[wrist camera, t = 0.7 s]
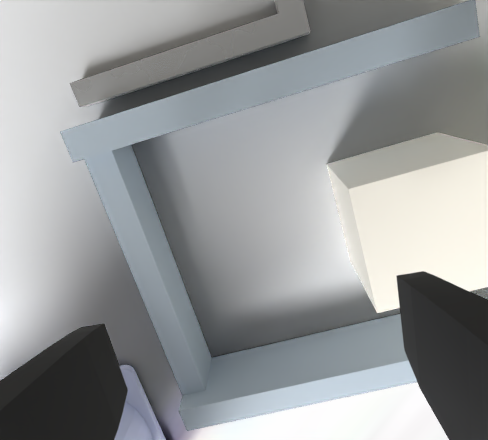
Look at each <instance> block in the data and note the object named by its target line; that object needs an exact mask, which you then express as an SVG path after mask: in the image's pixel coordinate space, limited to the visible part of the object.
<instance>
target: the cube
mask: <svg viewBox="0 0 488 440" xmlns="http://www.w3.org/2000/svg"><path fill="white" fill-rule="evenodd" d="M327 168H328V172H329V177H330V181H331V185H332V189H333V193H334V197H335V201H336V205H337V209H338V214H339V218H340V222H341V226H342V230H343V234H344V238H345V242H346V246H347V251H348V255H349V259H350V262H351V264H352V266H353V268H354V270H355V272H356V273H357V275H358V277H359V279H360V281H361V283H362V285H363V287H364V289H365V291H366V293H367V295H368V297H369V299H370V300H371V302H372V304H373V306H374V308H375V310H376V312H377V313H380V312H385V311H389V310H393V309H397V308H400V305H399V296H398V286H397V277H396V276H397V275H403V274H409V273H415V272H421V271H424V272H427V273H430V274H432V275H434V276H437V277H439V278H441V279H443V280H446V281H448V282H450V283H452V284H454V285H456V286H458V287H461V288H463V289H465V290H467V291H473V290H477V289H481V288H486V287H488V145H487V144H483V143H479V142H475V141H471V140H467V139H463V138H459V137H455V136H451V135H447V134H443V133H439V132H436V133H433V134H429V135H426V136H422V137H419V138H415V139H412V140H408V141H405V142H401V143H398V144H394V145H391V146H387V147H384V148H380V149H377V150H373V151H370V152H366V153H363V154H359V155H356V156H352V157H349V158H345V159H342V160H338V161H335V162H331V163H328V164H327Z"/></svg>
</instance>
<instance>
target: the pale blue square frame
mask: <svg viewBox="0 0 488 440" xmlns="http://www.w3.org/2000/svg"><path fill="white" fill-rule="evenodd" d="M478 37H480V35H479V27H478V18H477V10H476V2H475V0H469V1H466V2H463V3H460V4H457V5H453V6H450V7H447V8H444V9H441V10H438V11H435V12H432V13H429V14H425V15H422V16H419V17H416V18H413V19H410V20H407V21H404V22H400V23H397V24H394V25H391V26H388V27H385V28H382V29H379V30H376V31H372V32H369V33H366V34H363V35H360V36H357V37H354V38H351V39H347V40H344V41H341V42H338V43H335V44H332V45H329V46H326V47H323V48H319V49H316V50H313V51H310V52H307V53H304V54H301V55H298V56H294V57H291V58H288V59H285V60H282V61H279V62H276V63H273V64H270V65H266V66H263V67H260V68H257V69H254V70H251V71H248V72H245V73H241V74H238V75H235V76H232V77H229V78H226V79H223V80H220V81H217V82H213V83H210V84H207V85H204V86H201V87H198V88H195V89H192V90H188V91H185V92H182V93H179V94H176V95H173V96H170V97H167V98H164V99H160V100H157V101H154V102H151V103H148V104H145V105H142V106H139V107H135V108H132V109H129V110H126V111H123V112H120V113H117V114H114V115H111V116H107V117H104V118H101V119H98V120H95V121H92V122H89V123H86V124H82V125H79V126H76V127H73V128H70V129H67V130H64V131H61V132H60V133H61V135H62V137H63V140H64V142H65V144H66V147H67V149H68V152H69V154H70V156H71V159H72V161H73V162H77V161H80V160H83V159H84V160H85V162H86V165H87V167H88V169H89V172H90V174H91V177H92V179H93V181H94V184H95V186H96V189H97V191H98V193H99V196H100V198H101V201H102V203H103V205H104V208H105V210H106V213H107V215H108V217H109V220H110V222H111V225H112V227H113V230H114V232H115V234H116V237H117V239H118V242H119V244H120V246H121V249H122V251H123V254H124V256H125V258H126V261H127V263H128V266H129V268H130V270H131V273H132V275H133V278H134V280H135V282H136V285H137V287H138V290H139V292H140V295H141V297H142V299H143V302H144V304H145V307H146V309H147V311H148V314H149V316H150V319H151V321H152V323H153V326H154V328H155V331H156V333H157V335H158V338H159V340H160V343H161V345H162V347H163V350H164V352H165V355H166V357H167V360H168V362H169V364H170V367H171V369H172V372H173V374H174V376H175V379H176V381H177V384H178V386H179V388H180V391H181V393H182V399H181V403H180V407H179V413H180V416H181V418H182V420H183V423H184V425H185V427H186V430H187V431H189V430H194V429H199V428H203V427H208V426H213V425H218V424H222V423H227V422H232V421H236V420H241V419H246V418H250V417H255V416H260V415H264V414H269V413H274V412H278V411H283V410H288V409H293V408H297V407H302V406H307V405H311V404H316V403H321V402H325V401H330V400H335V399H339V398H344V397H349V396H354V395H358V394H363V393H368V392H372V391H377V390H382V389H386V388H391V387H396V386H400V385H405V384H410V383H415V382H417V380H416V377H415V375H414V373H413V370H412V368H411V365H410V363H409V360H408V358H407V355H406V353H405V350H404V343H403V333H402V324H401V314H397V315H392V316H388V317H384V318H380V319H375V320H371V321H367V322H362V323H358V324H354V325H350V326H345V327H341V328H337V329H333V330H328V331H324V332H320V333H316V334H311V335H307V336H303V337H298V338H294V339H290V340H286V341H281V342H277V343H273V344H269V345H264V346H260V347H256V348H252V349H247V350H243V351H239V352H234V353H230V354H226V355H222V356H217V357H213V358H212V357H211V355H210V352H209V349H208V347H207V344H206V341H205V339H204V336H203V333H202V331H201V328H200V325H199V323H198V320H197V318H196V315H195V312H194V310H193V307H192V304H191V302H190V299H189V296H188V294H187V291H186V288H185V286H184V283H183V280H182V278H181V275H180V273H179V270H178V267H177V265H176V262H175V259H174V257H173V254H172V251H171V249H170V246H169V243H168V241H167V238H166V235H165V233H164V230H163V228H162V225H161V222H160V220H159V217H158V214H157V212H156V209H155V206H154V204H153V201H152V198H151V196H150V193H149V190H148V188H147V185H146V183H145V180H144V177H143V175H142V172H141V169H140V167H139V164H138V161H137V159H136V156H135V153H134V151H133V148H132V144H135V143H138V142H141V141H145V140H148V139H151V138H154V137H158V136H161V135H164V134H167V133H170V132H174V131H177V130H180V129H183V128H187V127H190V126H193V125H196V124H200V123H203V122H206V121H209V120H212V119H216V118H219V117H222V116H225V115H229V114H232V113H235V112H238V111H242V110H245V109H248V108H251V107H255V106H258V105H261V104H264V103H267V102H271V101H274V100H277V99H280V98H284V97H287V96H290V95H293V94H297V93H300V92H303V91H306V90H309V89H313V88H316V87H319V86H322V85H326V84H329V83H332V82H335V81H339V80H342V79H345V78H348V77H352V76H355V75H358V74H361V73H364V72H368V71H371V70H374V69H377V68H381V67H384V66H387V65H390V64H394V63H397V62H400V61H403V60H407V59H410V58H413V57H416V56H419V55H423V54H426V53H429V52H432V51H436V50H439V49H442V48H445V47H449V46H452V45H455V44H458V43H461V42H465V41H468V40H471V39H474V38H478Z"/></svg>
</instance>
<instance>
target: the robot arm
mask: <svg viewBox="0 0 488 440" xmlns="http://www.w3.org/2000/svg"><path fill="white" fill-rule="evenodd" d="M396 277H397V286H398V296H399V305H400V314H401V324H402V333H403V343H404V350H405V353H406V355H407V358H408V360H409V363H410V365H411V368H412V370H413V373H414V375H415V377H416V380H417V382H418V384H419V387H420V389H421V391H422V392H423V394H424V396H425V398H426V400H427V401H428V403H429V405H430V407H431V408H432V410H433V412H434V414H435V416H436V417H437V419H438V421H439V423H440V424H441V426H442V428H443V430H444V431H445V433H446V435H447V437H448V438H449V440H488V300H487V299H485V298H482V297H480V296H478V295H476V294H474V293H471V292H469V291H467V290H465V289H463V288H461V287H458V286H456V285H454V284H452V283H450V282H448V281H446V280H443V279H441V278H439V277H437V276H434V275H432V274H430V273H427V272H424V271H421V272H415V273H409V274H403V275H397V276H396ZM0 440H166V439H165V437H164V435H163V432H162V430H161V428H160V426H159V423H158V421H157V419H156V417H155V414H154V412H153V410H152V408H151V405H150V403H149V401H148V399H147V396H146V394H145V392H144V390H143V388H142V385H141V383H140V381H139V379H138V376H137V374H136V372H135V370H134V368H133V367H131V366H129V365H120V366H119V364H118V361H117V358H116V355H115V352H114V350H113V347H112V344H111V341H110V338H109V336H108V333H107V330H106V327H105V324H99V325H93V326H87V327H81V328H79V329H77V330H75V331H74V332H72V333H70V334H68V335H67V336H65V337H64V338H62V339H61V340H59V341H57V342H56V343H54V344H53V345H52V346H50V347H49V348H47V349H46V350H44V351H43V352H41V353H40V354H38V355H37V356H35V357H34V358H33V359H31V360H30V361H28V362H27V363H25V364H24V365H23V366H21V367H20V368H18V369H17V370H15V371H14V372H12V373H11V374H10V375H8V376H7V377H5V378H4V379H2V380H1V381H0Z"/></svg>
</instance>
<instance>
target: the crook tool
mask: <svg viewBox="0 0 488 440" xmlns="http://www.w3.org/2000/svg"><path fill="white" fill-rule="evenodd" d="M274 2H275V6H276V10H277V14H275V15H272V16H269V17H266V18H263V19H260V20H257V21H254V22H251V23H248V24H245V25H242V26H239V27H236V28H233V29H230V30H227V31H224V32H221V33H218V34H215V35H212V36H209V37H206V38H203V39H200V40H197V41H194V42H191V43H188V44H185V45H182V46H179V47H176V48H173V49H171V50H168V51H165V52H162V53H159V54H156V55H153V56H150V57H147V58H144V59H141V60H138V61H135V62H132V63H129V64H126V65H123V66H120V67H117V68H114V69H111V70H108V71H105V72H102V73H99V74H96V75H93V76H90V77H87V78H84V79H81V80H78V81H75V82H72V83H70V85H71V87H72V90H73V92H74V95H75V97H76V100H77V102H78V105H79V107H85V106H91V105H94V104H97V103H100V102H103V101H106V100H109V99H112V98H115V97H118V96H121V95H124V94H127V93H131V92H134V91H137V90H140V89H143V88H146V87H149V86H152V85H155V84H158V83H161V82H164V81H167V80H170V79H173V78H177V77H180V76H183V75H186V74H189V73H192V72H195V71H198V70H201V69H204V68H207V67H210V66H213V65H216V64H219V63H223V62H226V61H229V60H232V59H235V58H238V57H241V56H244V55H247V54H250V53H253V52H256V51H259V50H262V49H265V48H269V47H272V46H275V45H278V44H281V43H284V42H287V41H290V40H293V39H296V38H299V37H302V36H305V35H308V34H309V33H310V32H311V31H310V27H309V23H308V18H307V14H306V10H305V6H304V1H303V0H274Z"/></svg>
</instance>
